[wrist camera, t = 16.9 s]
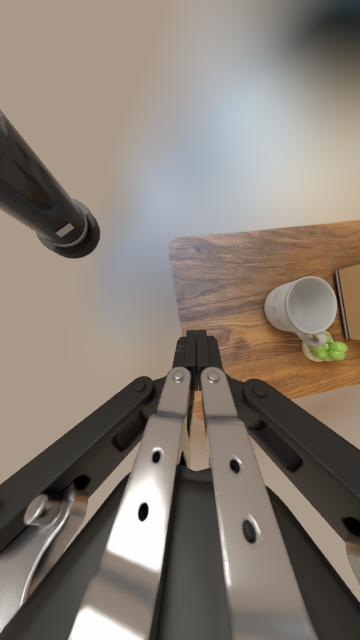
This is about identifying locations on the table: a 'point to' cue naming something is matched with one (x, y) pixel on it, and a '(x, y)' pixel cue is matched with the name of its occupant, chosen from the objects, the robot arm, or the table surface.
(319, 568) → the robot arm
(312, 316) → the teacup
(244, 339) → the table surface
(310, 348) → the grapes
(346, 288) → the book
